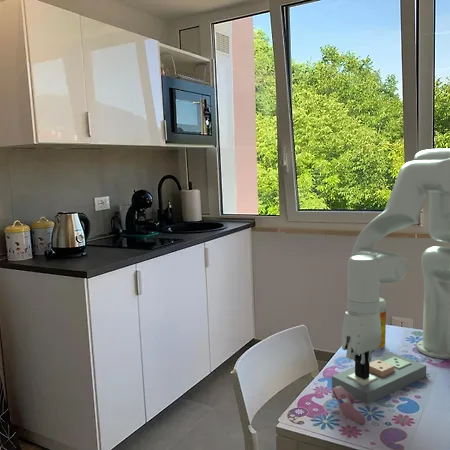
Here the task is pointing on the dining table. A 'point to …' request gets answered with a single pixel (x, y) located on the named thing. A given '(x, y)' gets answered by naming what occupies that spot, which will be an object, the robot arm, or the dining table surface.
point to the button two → (381, 368)
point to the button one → (362, 381)
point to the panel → (380, 380)
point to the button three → (397, 363)
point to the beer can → (382, 321)
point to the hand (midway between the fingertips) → (362, 376)
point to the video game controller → (347, 405)
